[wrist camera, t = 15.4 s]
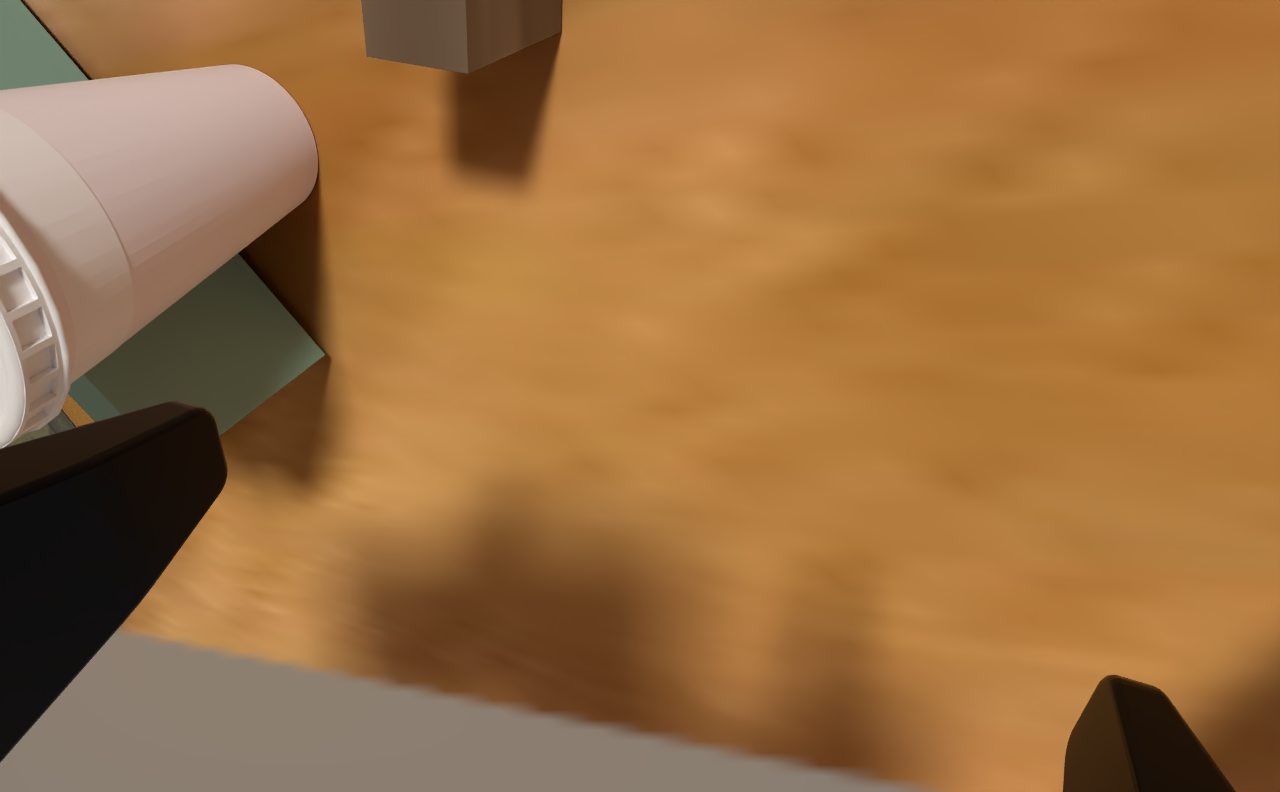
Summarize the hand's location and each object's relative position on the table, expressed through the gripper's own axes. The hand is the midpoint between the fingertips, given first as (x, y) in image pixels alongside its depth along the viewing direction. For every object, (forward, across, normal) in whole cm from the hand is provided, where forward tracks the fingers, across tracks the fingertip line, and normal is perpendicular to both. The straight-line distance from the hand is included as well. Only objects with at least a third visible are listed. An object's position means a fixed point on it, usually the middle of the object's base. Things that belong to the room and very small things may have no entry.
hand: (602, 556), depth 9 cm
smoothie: (+12, +14, +2) cm, 19 cm away
